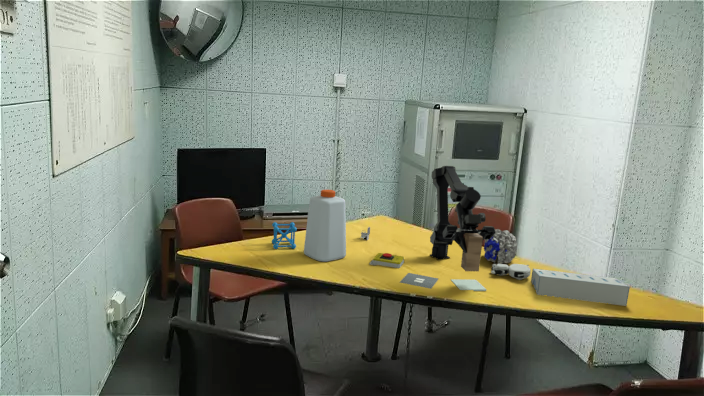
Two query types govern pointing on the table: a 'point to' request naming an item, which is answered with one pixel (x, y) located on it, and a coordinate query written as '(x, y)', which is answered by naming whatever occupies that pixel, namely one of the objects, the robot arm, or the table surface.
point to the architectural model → (365, 234)
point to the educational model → (500, 247)
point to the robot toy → (511, 270)
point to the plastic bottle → (326, 227)
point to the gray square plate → (419, 280)
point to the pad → (468, 285)
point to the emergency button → (387, 260)
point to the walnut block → (472, 252)
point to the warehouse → (580, 287)
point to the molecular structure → (284, 235)
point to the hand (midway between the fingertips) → (473, 252)
